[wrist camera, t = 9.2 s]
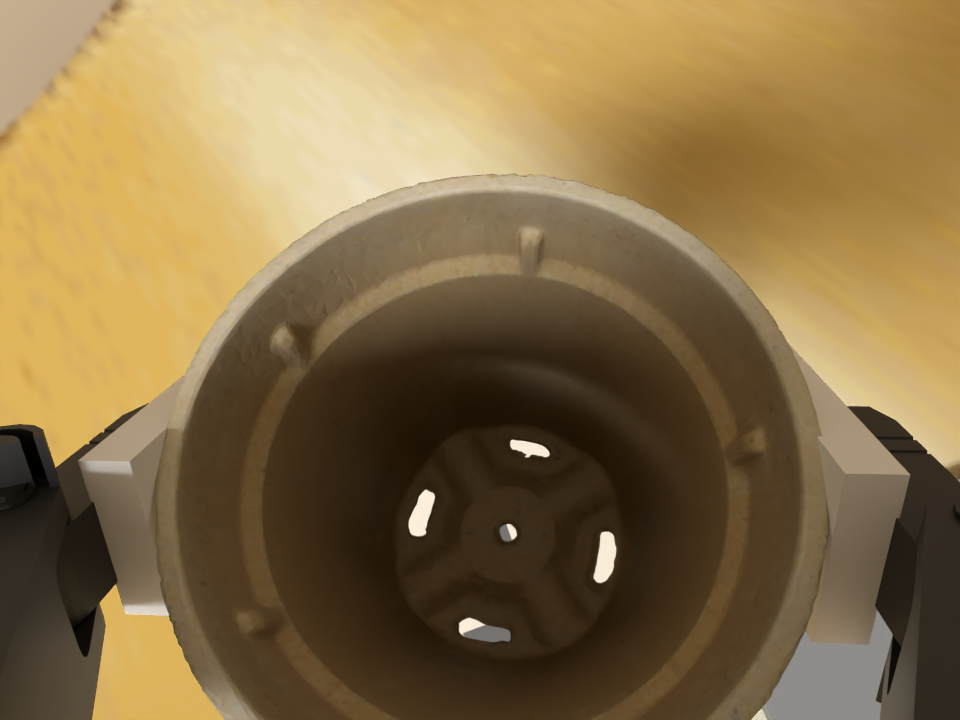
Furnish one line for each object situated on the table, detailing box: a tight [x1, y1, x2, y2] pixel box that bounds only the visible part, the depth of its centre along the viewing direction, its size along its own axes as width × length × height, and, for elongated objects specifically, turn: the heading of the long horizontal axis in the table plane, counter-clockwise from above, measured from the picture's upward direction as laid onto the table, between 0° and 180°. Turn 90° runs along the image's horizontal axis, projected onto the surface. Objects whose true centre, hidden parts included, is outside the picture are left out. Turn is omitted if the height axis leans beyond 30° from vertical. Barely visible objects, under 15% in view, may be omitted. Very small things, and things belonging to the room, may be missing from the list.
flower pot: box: [155, 174, 829, 720], centre depth 13 cm, size 9×9×9 cm
